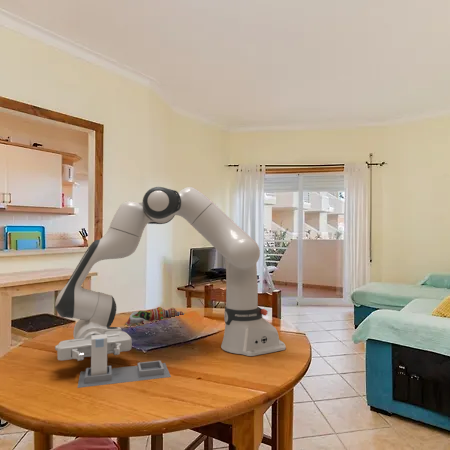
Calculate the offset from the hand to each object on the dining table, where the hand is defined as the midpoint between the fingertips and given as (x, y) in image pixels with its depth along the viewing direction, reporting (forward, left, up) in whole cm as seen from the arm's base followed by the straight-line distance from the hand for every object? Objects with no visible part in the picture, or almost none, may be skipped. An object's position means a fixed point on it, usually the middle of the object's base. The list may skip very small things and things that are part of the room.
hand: (99, 354), depth 99 cm
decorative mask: (-24, -57, -8) cm, 62 cm away
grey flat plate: (-7, -1, -7) cm, 10 cm away
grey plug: (0, -1, -6) cm, 6 cm away
